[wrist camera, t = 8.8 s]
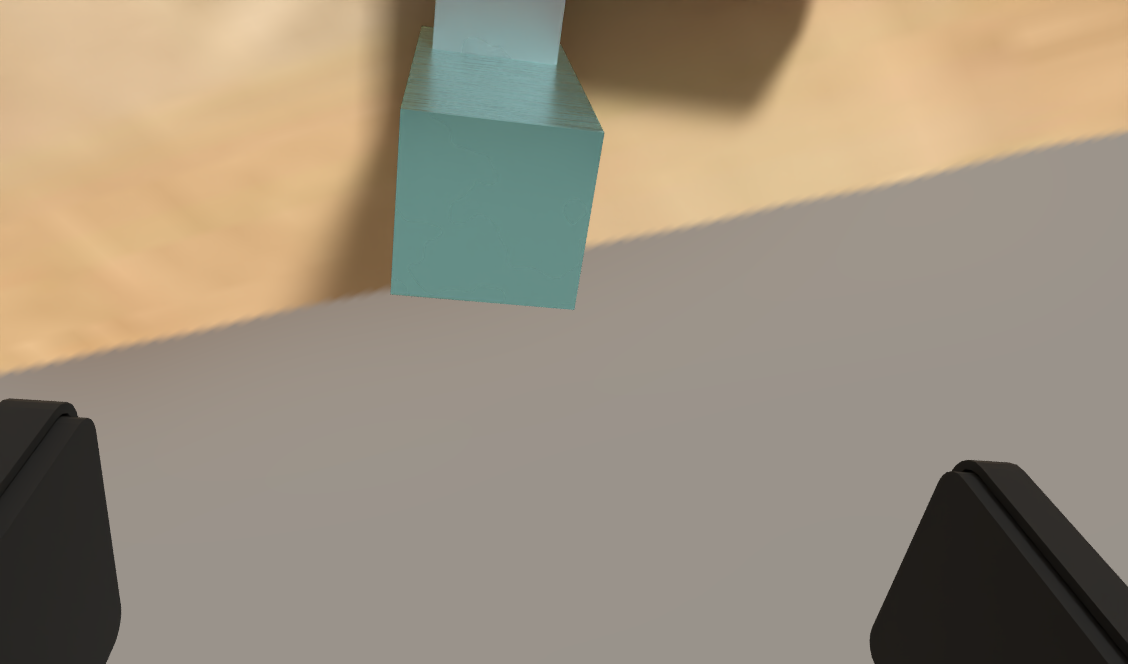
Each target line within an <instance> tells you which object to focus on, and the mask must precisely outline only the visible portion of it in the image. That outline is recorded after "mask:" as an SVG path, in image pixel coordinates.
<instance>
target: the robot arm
mask: <svg viewBox="0 0 1128 664" xmlns="http://www.w3.org/2000/svg"><path fill="white" fill-rule="evenodd" d="M120 620H121V603H120V597H119V589H118V582H117V576H116V568H115V561H114V555H113V547H112V540H111V533H110V526H109V519H108V512H107V505H106V498H105V491H104V484H103V477H102V470H101V463H100V456H99V448H98V442H97V435H96V429H95V425H94V423H93V421H92V420H91V419H89V418H80V417H78V416H77V412H76V410H75V408H74V406H73V405H72V404H70V403H68V402H56V401H41V400H23V399H6V400H2V401H1V402H0V664H106V662H107V660H108V657H109V655H110V653H111V651H112V649H113V646H114V644H115V641H116V639H117V635H118V631H119V626H120ZM870 650H871V655H872V658H873V661H874V663H875V664H1128V587H1127V586H1126V584H1125V583H1124V582H1123V581H1122V580H1121V579H1120V578H1119V576H1117V574H1116V573H1115V572H1114V571H1113V570H1112V569H1111V568H1110V567H1109V565H1108V564H1107V563H1106V562H1105V561H1104V560H1103V559H1102V558H1101V556H1100V555H1099V554H1098V553H1097V552H1096V551H1095V550H1094V549H1093V547H1092V546H1091V545H1090V544H1089V543H1088V542H1087V541H1086V540H1085V539H1084V537H1083V536H1082V535H1081V534H1080V533H1079V532H1078V531H1077V530H1076V528H1075V527H1074V526H1073V525H1072V524H1071V523H1070V522H1069V521H1068V520H1067V518H1066V517H1065V516H1064V515H1063V514H1062V513H1061V512H1060V511H1059V509H1058V508H1057V507H1056V506H1055V505H1054V504H1053V503H1052V502H1051V501H1050V499H1049V498H1048V497H1047V496H1046V495H1045V494H1044V493H1043V492H1042V491H1041V489H1040V488H1039V487H1038V486H1037V485H1036V484H1035V483H1034V482H1033V481H1032V479H1031V478H1030V477H1029V476H1028V475H1027V474H1026V473H1025V472H1024V471H1023V470H1022V469H1021V468H1020V467H1019V466H1017V465H1015V464H1012V463H1007V462H992V461H975V460H965V461H961V462H960V463H959V464H957V465H956V466H955V467H954V469H953V470H952V471H951V472H946V473H945V474H944V475H943V476H942V477H941V479H940V480H939V482H938V484H937V486H936V489H935V491H934V493H933V495H932V497H931V500H930V502H929V504H928V506H927V508H926V510H925V513H924V515H923V517H922V519H921V521H920V524H919V526H918V528H917V530H916V532H915V535H914V537H913V539H912V541H911V543H910V546H909V548H908V550H907V553H906V555H905V557H904V559H903V561H902V563H901V565H900V568H899V570H898V572H897V575H896V577H895V579H894V581H893V583H892V585H891V588H890V590H889V592H888V594H887V596H886V599H885V601H884V603H883V605H882V607H881V610H880V612H879V614H878V616H877V618H876V620H875V623H874V625H873V627H872V630H871V633H870Z"/></svg>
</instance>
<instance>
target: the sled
mask: <svg viewBox="0 0 1128 664" xmlns="http://www.w3.org/2000/svg"><path fill="white" fill-rule="evenodd" d="M565 1H566V0H436V4H435V18H434V27H427V26H422V27H421V31H420V35H419V39H418V43H417V47H416V50H415V54H414V58H413V62H412V66H411V70H410V74H409V78H408V81H407V85H406V89H405V93H404V97H403V101H402V105H401V109H400V127H399V145H398V164H397V183H396V202H395V220H394V239H393V258H392V277H391V294H392V295H405V296H417V297H429V298H440V299H452V300H464V301H476V302H489V303H500V304H512V305H524V306H536V307H548V308H561V309H573V310H574V308H575V302H576V296H577V290H578V284H579V278H580V272H581V267H582V261H583V255H584V249H585V243H586V237H587V232H588V226H589V220H590V214H591V208H592V202H593V196H594V190H595V185H596V179H597V173H598V167H599V161H600V155H601V149H602V144H603V138H604V131H603V129H602V127H601V125H600V123H599V121H598V119H597V117H596V115H595V113H594V111H593V109H592V107H591V105H590V103H589V101H588V99H587V97H586V94H585V92H584V90H583V88H582V86H581V84H580V82H579V80H578V78H577V76H576V74H575V72H574V70H573V68H572V66H571V64H570V62H569V60H568V58H567V56H566V54H565V52H564V50H563V48H562V46H561V44H560V38H561V30H562V23H563V16H564V9H565Z"/></svg>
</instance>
